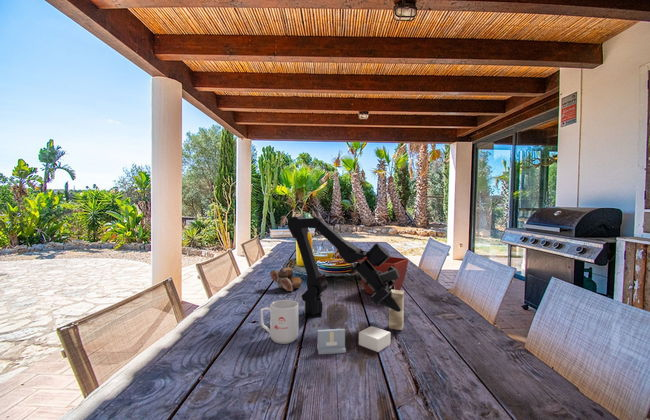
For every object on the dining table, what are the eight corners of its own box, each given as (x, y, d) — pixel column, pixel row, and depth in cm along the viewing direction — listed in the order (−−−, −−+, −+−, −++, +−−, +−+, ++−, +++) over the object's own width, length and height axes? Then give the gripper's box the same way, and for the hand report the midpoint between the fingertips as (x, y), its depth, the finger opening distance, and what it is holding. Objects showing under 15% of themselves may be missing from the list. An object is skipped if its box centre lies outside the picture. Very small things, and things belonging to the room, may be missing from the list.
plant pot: (374, 285, 162) (374, 254, 162) (408, 292, 151) (409, 258, 151) (356, 293, 146) (356, 259, 146) (393, 301, 135) (393, 264, 135)
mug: (299, 333, 100) (299, 299, 100) (296, 345, 92) (297, 308, 91) (263, 332, 101) (263, 299, 100) (257, 344, 92) (257, 308, 92)
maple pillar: (388, 328, 105) (389, 292, 105) (390, 323, 109) (391, 289, 109) (402, 330, 104) (402, 294, 103) (403, 325, 108) (404, 290, 108)
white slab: (358, 345, 93) (358, 332, 92) (371, 338, 98) (371, 325, 98) (378, 353, 88) (378, 339, 88) (390, 345, 93) (390, 332, 93)
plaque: (318, 354, 86) (318, 333, 86) (316, 347, 90) (317, 328, 90) (345, 352, 87) (346, 332, 87) (342, 346, 91) (343, 326, 91)
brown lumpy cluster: (269, 272, 161) (268, 269, 147) (298, 265, 164) (300, 261, 150) (274, 297, 157) (275, 296, 143) (304, 288, 161) (307, 287, 147)
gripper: (381, 265, 99) (415, 302, 95) (389, 256, 116) (419, 287, 113) (357, 286, 102) (390, 323, 98) (369, 274, 119) (397, 306, 115)
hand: (400, 308), depth 106 cm, fingers closed on maple pillar, 4 cm apart
